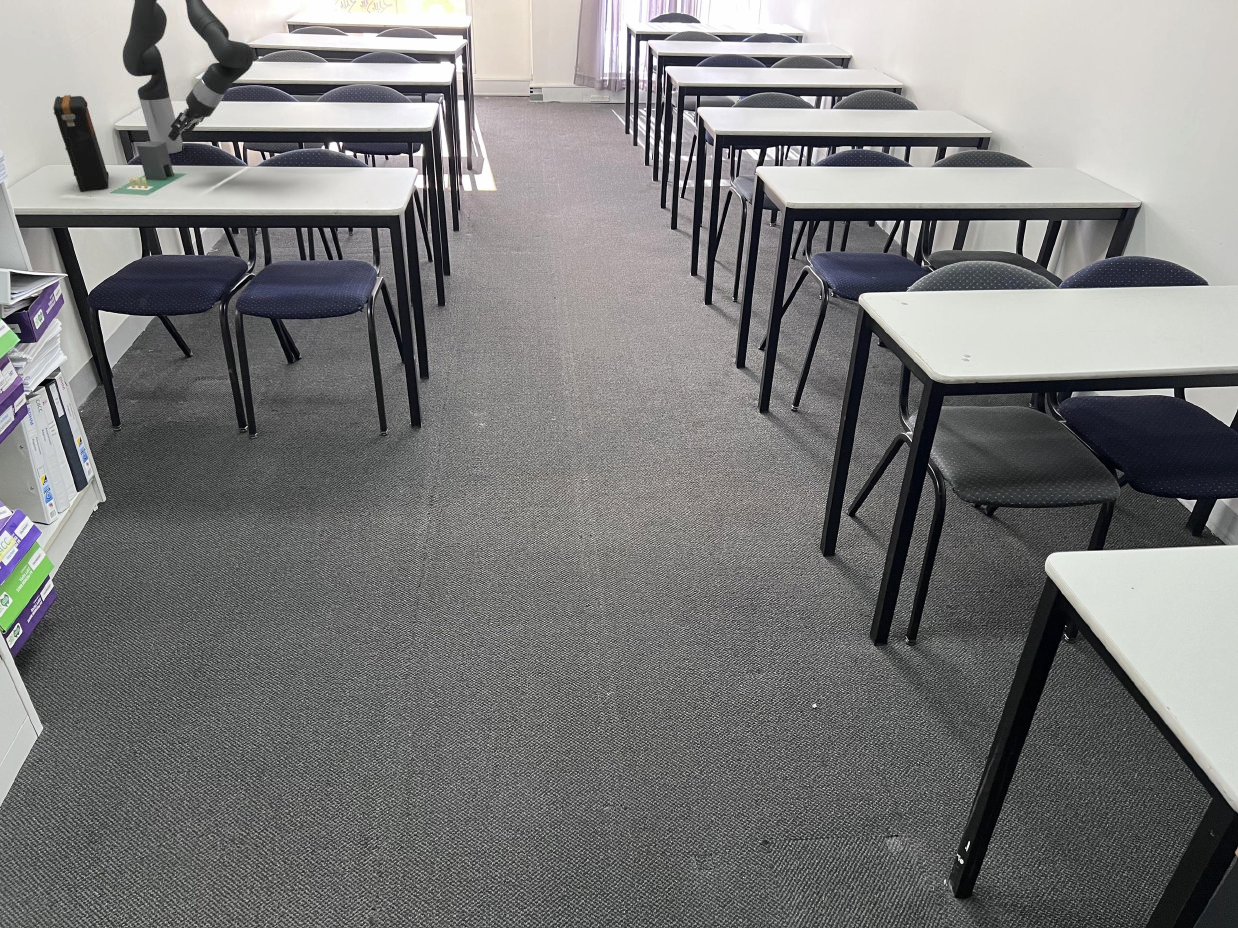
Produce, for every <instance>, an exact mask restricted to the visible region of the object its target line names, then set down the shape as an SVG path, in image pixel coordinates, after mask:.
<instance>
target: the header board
mask: <svg viewBox="0 0 1238 928" xmlns="http://www.w3.org/2000/svg"><path fill="white" fill-rule="evenodd" d="M173 173H174V176H166V178H167V179H166V180H147V179H146V177H145V174H144V175H142V176H140V177H135V179H134V177H133V176H130V177H128V179H129V182H127V183H126V184H124V185H122V186H121V187H118V188H116V189H114V190H113V191H110V192H109V194H118V195H137V196H138V195H139V196H149V195H151V194H152V193H154V192H156V191H158V190H160V189H162V188H164V187H166V186H168V185H170V184H172V183H173V182H175V181H176V180H179V179H181V178H182V177H184V176H186V175H187V173H179V172H173Z"/></svg>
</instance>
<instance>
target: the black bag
mask: <svg viewBox="0 0 1238 928" xmlns="http://www.w3.org/2000/svg"><path fill="white" fill-rule="evenodd" d="M53 103H54V104H53V107H52V109H53V115H55V118H56V121H57V125H58V128H59V131H60V134H61V137H62V140H63V142H64V145H65V151H66V153H67V155H68V158H69V161H70V162H69V163H70V164H71V168H72V171H73V176H74V177H75V179H76V183H77V187H78V189H79V191H80V192H81V193H84V192H92V191H94V192H95V191H103V190H107V189H108V188H109V177H110V176H109V175H110V174H109V172H108V171H107V167H106V165H105V162H104V157H103V154H102V151H101V148H100V145H99V141H98V137H97V135H96V131H95V127H94V125H93V121H92V118H91V115H90V111H89V109H88V101H87V100H86V99H85V98H84V96H82V95H75V96H73V95H71V94H66V95H63V96H62V97H61V96H60V95H59V96H56V97H55V99H54V102H53Z"/></svg>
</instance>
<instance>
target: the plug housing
mask: <svg viewBox="0 0 1238 928" xmlns="http://www.w3.org/2000/svg"><path fill="white" fill-rule="evenodd" d="M136 148H137V151H138V155H139V159H140V163H141V166H142V170H143V173H144V175H145V177H146V179H147V180H166V179H167V178H166V176H174V173H175V172H174V169H173V165H172V162H171V158H170V155H169V154H168V150H167V146H166V142H151V140H150V141H147V140H146V141H145V142H143V143H140V144H138V145H136Z"/></svg>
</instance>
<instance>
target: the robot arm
mask: <svg viewBox="0 0 1238 928" xmlns="http://www.w3.org/2000/svg"><path fill="white" fill-rule="evenodd" d="M157 1H158V0H134V4H133V8H132V14H131V19H130V27H129V32H128V35H127V39H126V40H125V43H124V45H123V50H122V63H123V66H124V68H125V70H126V71H127V73H128V74H130V75H131V76H133V77H149V76H150V79H149V80H148V81H147V82H146V83H145V84H144V85H142V86H140V87H138V89H137V96H138V99H139V102H140V106H141V110H142V113H143V117H144V121H145V124H146V128H147V132H148V135H149V139H150V141H151V142H166V146H167V150H168V154H175V153H179V152H182V151H183V150H182V144H183V145H184V142H183V138H182V135H181V134H182V133H183V131H184V132H186V133H187V134H191V133H193V130H194V129H195V128H196V126H199V124H200V123H202V122H204V119H205V118H208V117H209V118H210V117H211V115H212V114H213V113H214V112H215V110H216V108H217V107H218V106H219V105H220V103H221V101H222V100H223V98H224V97H225V95H226V92H228V90H229V88H230V87H231V85H232V84H234V83H235V82H236V81H237V80H239V79H240V78H241V77H242V76H243V75H244V74H246V73H247V72H248V71H249V70H250V69H251V67H252V66H253V63H254V60H255V57H254V56H255V54H254V51H253V48H252V47H251V46H250V45H249V44H247V43H246V42H243V41H242V42H241V41H235V40H231V39H229V37H230V33H229V30H228V29H227V27H226V26H225V24H224V23H223V22H222V21H221V20H220V19H219V17H217V16H216V15H215V13H213V12H212V11H211V9H210V8H209V7H208V6H207V4H206V3H205V2H204V0H184V1H185V4H186V11H187V18H188V21H189V23H190V26H191V27H192V28H193V30H194V31H195V32H196V33H197V34H198V36H200V38H202V39H203V40H204V42H206V43H207V46H208V48H209V50H210V52H211V53H212V56H213V57H214V59H215V60H216V61H217V62H214V63H211V64H210V65H209V66H208V67H207V69H206V70H205V72H204V73H203V75H202V76H201V77H200V78H199V79H198V81H196V83H195V84H194V86H193V87H192V89H191V90H190V92H189V93H188V95H187V96H186V98H185V103H186V105H187V107H188V108H187V107H186V108H185V109H184V110H183V112H182V111H180V112H179V114H178V115H177V117H176V116H175V113H174V112H175V111H174V108H173V104H172V99H171V97H170V93H169V85H168V81H167V75H166V72H165V66H164V62H163V61H164V60H163V57H162V54H161V51H160V49H159V48H158V46H156V44H158V43H159V42H160V41H161V40H162V39H163V38H164V36H165V33H166V28H167V24H168V23H167V22H168V20H167V15H166V12H165V10H164V8H163V7H162V6H161V5H160V4H159V3H158V2H157Z"/></svg>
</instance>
